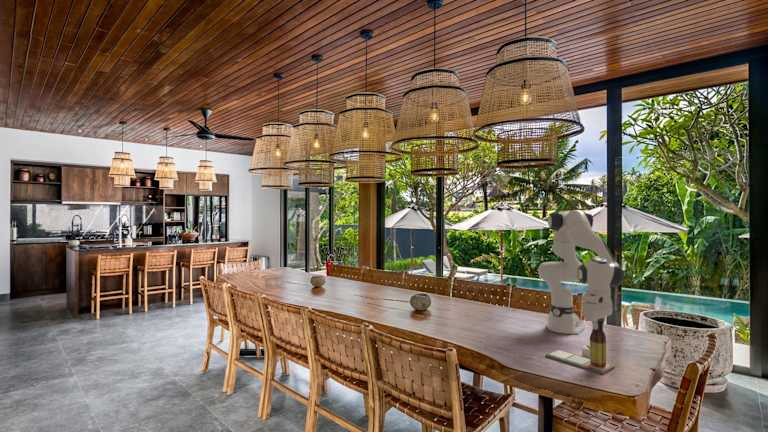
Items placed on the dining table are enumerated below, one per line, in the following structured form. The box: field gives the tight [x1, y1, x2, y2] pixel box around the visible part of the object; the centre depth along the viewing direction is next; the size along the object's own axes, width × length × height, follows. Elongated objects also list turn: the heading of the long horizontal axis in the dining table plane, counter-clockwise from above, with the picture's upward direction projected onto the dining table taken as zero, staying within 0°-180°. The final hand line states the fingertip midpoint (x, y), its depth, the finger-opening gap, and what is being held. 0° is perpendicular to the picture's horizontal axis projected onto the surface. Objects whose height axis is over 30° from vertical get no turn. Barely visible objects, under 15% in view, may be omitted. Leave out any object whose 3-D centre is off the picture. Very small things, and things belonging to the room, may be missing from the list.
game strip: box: [544, 348, 616, 375], centre depth 173 cm, size 12×25×1 cm, turn 38°
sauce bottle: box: [589, 319, 607, 367], centre depth 167 cm, size 7×6×20 cm
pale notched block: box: [581, 345, 590, 358], centre depth 179 cm, size 4×4×5 cm
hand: (598, 328), depth 167 cm, fingers closed on sauce bottle, 4 cm apart
